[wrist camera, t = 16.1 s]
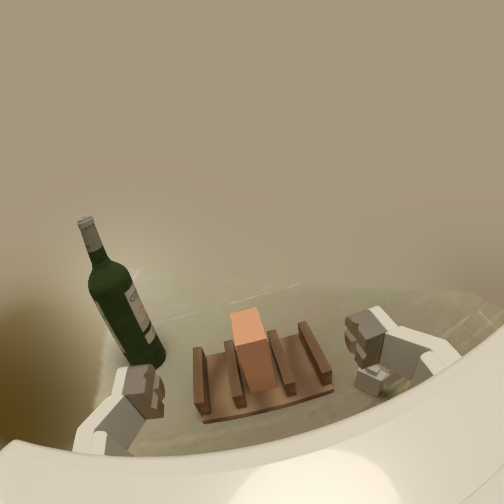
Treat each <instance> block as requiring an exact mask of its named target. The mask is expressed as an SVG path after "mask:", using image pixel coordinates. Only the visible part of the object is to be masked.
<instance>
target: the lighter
mask: <svg viewBox="0 0 504 504" xmlns="http://www.w3.org/2000/svg"><path fill="white" fill-rule="evenodd" d="M400 378H402V376H400V375H399V374H397V373H395V372H393V371H391V370H390V371H389V372H388V373H387V374H386V372H384V371H382V370H380V367H378V366H376V365H373V366H370V367H368V368H365V369H363V370H361V368H360V367H359V369H358V372H357V378H356V384H355V387H357V388H359V389H361V390H363V391H365V392H367V393H369V394H371V395H373V396H375V397H377V396H378V395H379V393H380V392H381V390H382V388H383V384H384V383H385V384H386V385H387V386H390V385H391V384H393V383H394V382H396V381H397V380H399V379H400Z"/></svg>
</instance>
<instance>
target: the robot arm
mask: <svg viewBox="0 0 504 504" xmlns="http://www.w3.org/2000/svg"><path fill="white" fill-rule="evenodd" d="M345 325H346V326H347V330H346V331H345V342H346V345H347V348H348V349H349V351H350V352H351V353H353V354H355V361H356V362H357V364H358V365H359V367H360V368H361V370H363V369H365V368H368V367H370V366H373V365H376V364H378V363H379V364H380V365H382V366H383V367H385V368H387V369H389V370H391V371H393V372H395V373H397V374H399V375H400V376H402V377H404V378H406V379H408V380H410V381H411V383H410V386H409V388H408V390H407V391H405V392H403V393H401V394H399V395H397V396H396V397H394V398H391V399H389V400H387V401H385V402H383V403H381V404H379V405H377V406H375V407H372V408H370V409H368V410H365V411H363V412H361V413H358V414H356V415H353V416H351V417H348V418H346V419H343V420H341V421H338V422H335V423H332V424H330V425H327V426H324V427H321V428H318V429H315V430H312V431H308V432H305V433H302V434H298V435H295V436H291V437H288V438H284V439H280V440H276V441H272V442H268V443H263V444H259V445H254V446H249V447H244V448H238V449H233V450H226V451H220V452H212V453H204V454H194V455H182V456H164V457H135V456H134V455H132V454H131V453H130V452H128V451H127V450H128V448H129V447H130V445H131V443H132V442H133V440H134V439H135V437H136V435H137V434H138V432H139V431H140V429H141V428H142V426H143V424H144V423H145V421H146V419H156V418H164V404H163V403H162V400H163V398H164V397H165V389H164V384H163V382H162V379H161V378H160V376H158V375H156V374H155V368H154V367H153V365H152V364H145V365H136V366H128V367H119V368H118V369H117V372H116V376H115V380H114V384H113V389H112V393H111V396H108V397H107V398H106V399H105V400H104V401H103V402H102V403H101V404H100V405H99V406H98V407H97V408H96V409H95V411H94V412H93V413H92V414H91V415H90V416H89V417H88V418H87V419H86V420H85V421H84V422H83V423H82V425H81V426H80V427H79V428H78V429H77V432H76V437H75V441H74V446H73V451H65V450H60V449H55V448H49V447H45V446H40V445H36V444H32V443H28V442H24V441H21V440H13V441H12V442H10V443H9V444H8V445H6V446H5V447H4V448H3V449H2V450H1V451H0V504H504V324H503V325H502V326H501V327H500V328H499V329H498V330H496V331H495V332H494V333H493V334H492V335H490V336H489V337H488V338H487V339H485V340H484V341H483V342H482V343H480V344H479V345H478V346H476V347H475V348H474V349H472V350H471V351H470V352H468V353H467V354H465V355H464V356H463V357H461V356H460V355H459V353H458V352H457V351H456V350H455V349H454V348H453V347H452V346H451V345H450V344H449V343H448V342H447V341H446V340H444V339H441V338H437V337H434V336H431V335H428V334H425V333H421V332H418V331H415V330H412V329H409V328H406V327H403V326H400V327H398V326H397V325H396V324H395V323H394V322H393V321H392V320H391V318H390V317H389V316H388V315H387V314H386V313H385V312H384V311H383V310H382V309H381V308H380V307H379V306H375V307H373V308H370V309H367V310H365V311H362V312H359V313H356V314H354V315H351V316H348V317H346V319H345Z"/></svg>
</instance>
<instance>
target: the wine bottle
mask: <svg viewBox="0 0 504 504" xmlns="http://www.w3.org/2000/svg"><path fill="white" fill-rule="evenodd" d="M78 227H79V229H80V230H81V233H82V237H83V240H84V243H85V246H86V248H87V251H88V254H89V257H90V260H91V262H92V268H93V269H92V272H91V274H90V277H89V280H88V288H89V292H90V294H91V296H92V298H93V300H94V302H95V304H96V306H97V308H98V310H99V312H100V314H101V315H102V317H103V319H104V321H105V323H106V325H107V327H108V328H109V330H110V332H111V334H112V335H113V337H114V339H115V340H116V342H117V344H118V346H119V347H120V349H121V350H122V352H123V354H124V355H125V357H126V358H127V360H128V362H129V363H130V365H131V366H136V365H145V364H152V365H153V367H154V368H155V369H156V368H158V367H159V366H160V365H161V364H162V363H163V361H164V359H165V356H166V354H165V349H164V348H163V346H162V344H161V342H160V340H159V338H158V336H157V334H156V332H155V330H154V328H153V326H152V324H151V321H150V319H149V317H148V315H147V313H146V311H145V309H144V306H143V304H142V302H141V300H140V297H139V295H138V293H137V291H136V288H135V286H134V283H133V281H132V279H131V276H130V274H129V272H128V270H127V269H126V268H125V267H124V266H123V265H121V264H119V263H117V262H114V261H111V260H110V259H109V257H108V256H107V254H106V252H105V249H104V247H103V244H102V242H101V240H100V237H99V235H98V232H97V229H96V227H95V224H94V220H93V217H92V216H91V215H87V216H85V217H83V218H80V219H79V220H78Z"/></svg>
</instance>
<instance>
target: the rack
mask: <svg viewBox="0 0 504 504" xmlns="http://www.w3.org/2000/svg"><path fill="white" fill-rule="evenodd" d="M298 331H299V334H296V335H292V336H288V337H285V338H281V339H279V338H278V335H277V332H276V330H271V331H267V335H268V340H269V342H267V343H268V348H269V352H270V357H271V362H272V367H273V372H274V377H275V382H276V388H272V389H268V390H264V391H260V392H256V393H252V394H251V392H250V389H249V386H248V383H247V380H246V377H245V374H244V371H243V367H242V364H241V361H240V358H239V355H238V352H237V350H235V346H234V343H233V340H229V341H225V342H224V347H225V352H223V353H218V354H214V355H209V356H205V354H204V352H203V349H202V347H196V348H193V389H194V405H195V406H196V408H197V409H198V411H199V412H200V414H201V415H202V422H203V423H204V424H206V423H213V422H219V421H225V420H230V419H236V418H241V417H246V416H250V415H255V414H259V413H264V412H268V411H272V410H276V409H280V408H283V407H287V406H291V405H294V404H298V403H301V402H304V401H308V400H311V399H314V398H317V397H320V396H323V395H326V394H329V393H332V392H333V391H334V388H333V386H332V384H331V381H332V369H331V367H330V365H329V363H328V361H327V359H326V358H325V356H324V354H323V352H322V350H321V348H320V346H319V344H318V342H317V341H316V339H315V337H314V335H313V333H312V331H311V329H310V328H309V326H308V324H307V322H306V321H304V322H300V323H298Z"/></svg>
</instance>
